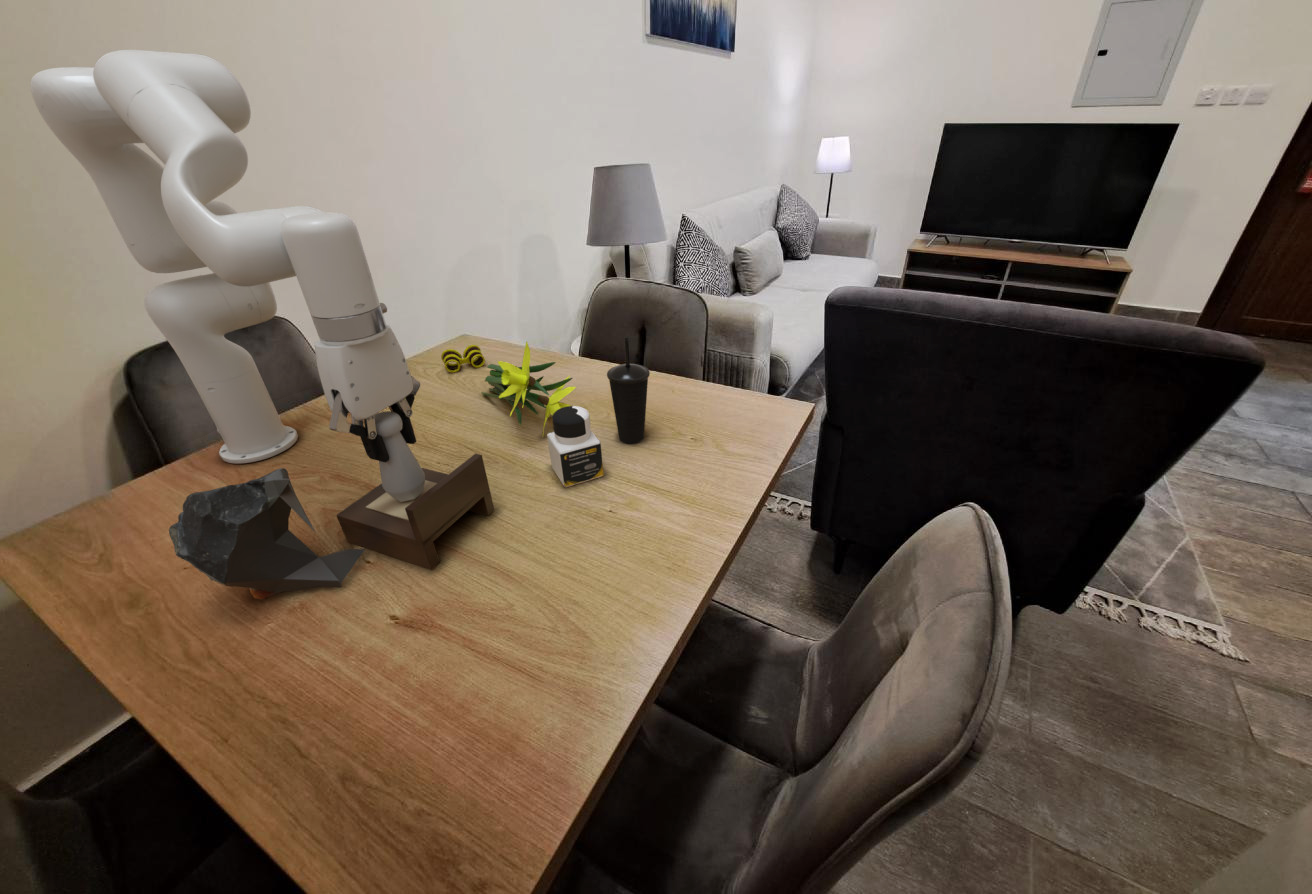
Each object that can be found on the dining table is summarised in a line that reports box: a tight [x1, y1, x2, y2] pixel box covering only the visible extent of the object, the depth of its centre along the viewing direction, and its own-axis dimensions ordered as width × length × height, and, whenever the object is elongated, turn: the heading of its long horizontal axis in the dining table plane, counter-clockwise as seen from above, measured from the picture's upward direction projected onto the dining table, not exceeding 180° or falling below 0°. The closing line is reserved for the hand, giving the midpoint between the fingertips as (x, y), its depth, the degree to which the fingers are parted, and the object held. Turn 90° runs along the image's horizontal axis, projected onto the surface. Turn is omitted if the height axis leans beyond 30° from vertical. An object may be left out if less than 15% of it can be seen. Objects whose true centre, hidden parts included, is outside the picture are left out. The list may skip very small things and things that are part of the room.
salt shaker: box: [374, 410, 425, 502], centre depth 75 cm, size 6×6×13 cm
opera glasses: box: [440, 344, 486, 373], centre depth 132 cm, size 10×5×5 cm, turn 118°
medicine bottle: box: [546, 405, 604, 488], centre depth 89 cm, size 7×7×12 cm
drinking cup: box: [606, 337, 651, 445], centre depth 96 cm, size 8×8×20 cm
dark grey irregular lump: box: [168, 467, 367, 600], centre depth 67 cm, size 14×15×18 cm
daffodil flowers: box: [480, 340, 577, 438], centre depth 106 cm, size 17×15×35 cm
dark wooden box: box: [335, 453, 496, 571], centre depth 78 cm, size 16×14×10 cm
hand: (393, 449), depth 74 cm, fingers closed on salt shaker, 4 cm apart
